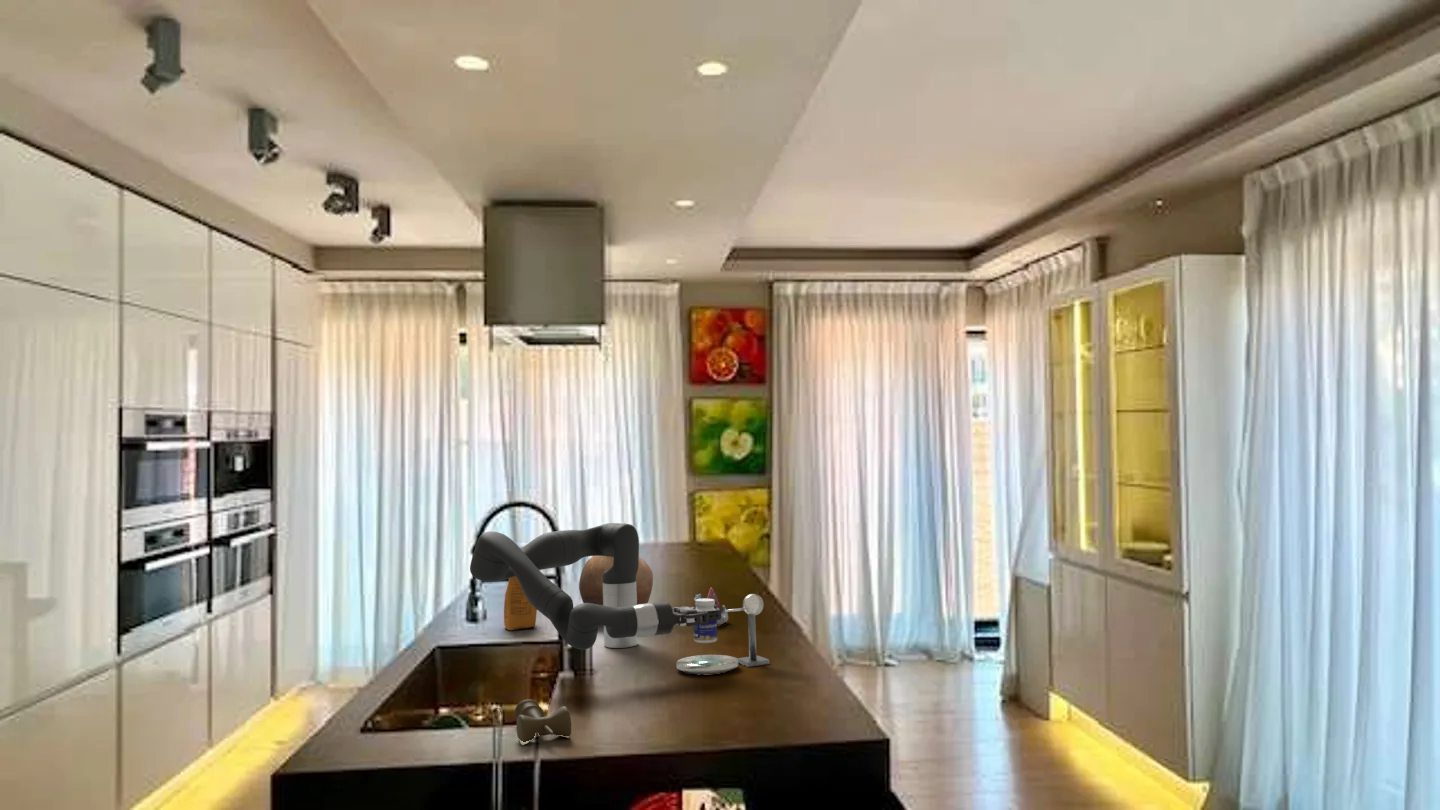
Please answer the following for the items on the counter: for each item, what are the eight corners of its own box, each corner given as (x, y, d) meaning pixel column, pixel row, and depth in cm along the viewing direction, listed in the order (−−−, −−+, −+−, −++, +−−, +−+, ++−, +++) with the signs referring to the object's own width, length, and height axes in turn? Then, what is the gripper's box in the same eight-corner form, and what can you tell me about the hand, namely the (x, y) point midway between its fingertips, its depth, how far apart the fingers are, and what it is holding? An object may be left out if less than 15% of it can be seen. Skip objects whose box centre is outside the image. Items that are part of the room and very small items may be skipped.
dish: (666, 667, 243) (666, 659, 243) (721, 660, 250) (721, 651, 250) (692, 680, 230) (692, 671, 230) (749, 671, 237) (749, 662, 237)
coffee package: (536, 622, 312) (535, 552, 313) (537, 629, 300) (535, 556, 301) (504, 624, 310) (502, 553, 311) (503, 631, 298) (502, 558, 299)
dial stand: (721, 664, 245) (719, 595, 246) (757, 659, 250) (755, 591, 250) (732, 669, 240) (730, 598, 240) (769, 663, 244) (767, 594, 245)
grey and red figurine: (726, 620, 292) (702, 587, 295) (699, 642, 295) (676, 608, 298) (739, 614, 302) (716, 581, 305) (713, 634, 305) (691, 602, 308)
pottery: (590, 615, 322) (588, 537, 323) (660, 614, 319) (658, 536, 320) (570, 628, 300) (568, 545, 300) (645, 628, 296) (643, 544, 297)
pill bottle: (700, 644, 236) (699, 602, 236) (689, 640, 241) (689, 599, 242) (721, 641, 239) (720, 599, 239) (711, 638, 244) (710, 597, 244)
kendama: (551, 722, 201) (579, 745, 183) (503, 730, 197) (527, 755, 179) (549, 692, 201) (577, 712, 183) (501, 700, 197) (525, 721, 179)
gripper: (639, 630, 240) (702, 624, 247) (662, 640, 227) (728, 633, 235) (638, 599, 240) (701, 593, 248) (661, 607, 227) (727, 601, 235)
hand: (714, 612), depth 241 cm, fingers closed on pill bottle, 5 cm apart
